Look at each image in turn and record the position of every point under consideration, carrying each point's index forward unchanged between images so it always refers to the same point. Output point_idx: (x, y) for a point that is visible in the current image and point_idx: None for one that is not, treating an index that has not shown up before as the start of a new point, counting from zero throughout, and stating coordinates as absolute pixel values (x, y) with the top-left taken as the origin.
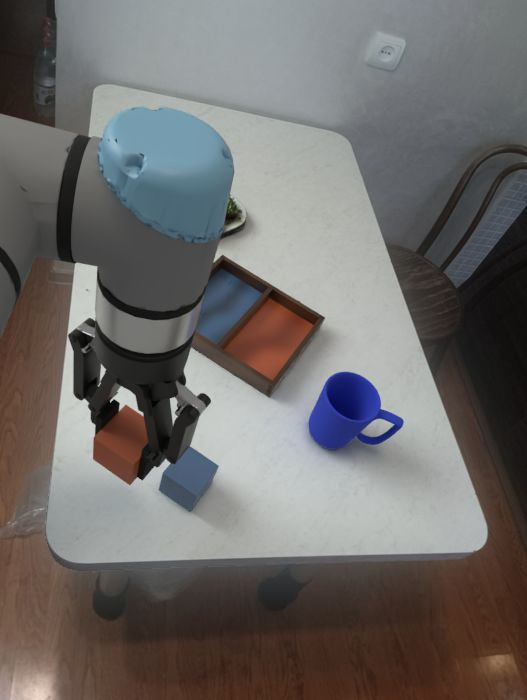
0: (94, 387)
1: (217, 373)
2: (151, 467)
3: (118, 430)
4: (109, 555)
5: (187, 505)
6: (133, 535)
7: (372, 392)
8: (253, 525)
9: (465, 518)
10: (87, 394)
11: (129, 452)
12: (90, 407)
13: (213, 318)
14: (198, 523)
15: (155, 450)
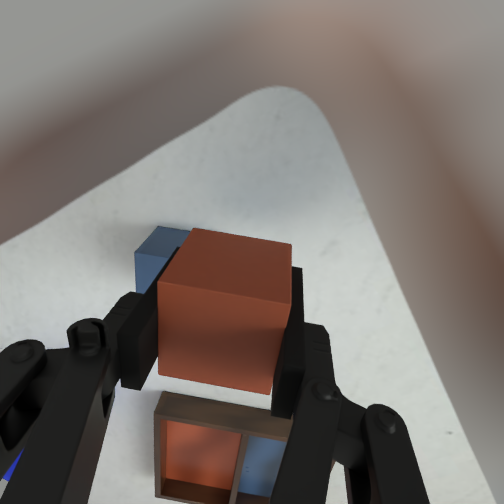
0: (349, 459)
1: (234, 395)
2: None
3: (246, 340)
4: (219, 116)
5: (160, 232)
6: (206, 160)
7: (10, 472)
8: (79, 244)
9: None
10: (358, 440)
11: (187, 305)
12: (330, 397)
13: (276, 452)
14: (139, 216)
15: (80, 358)
